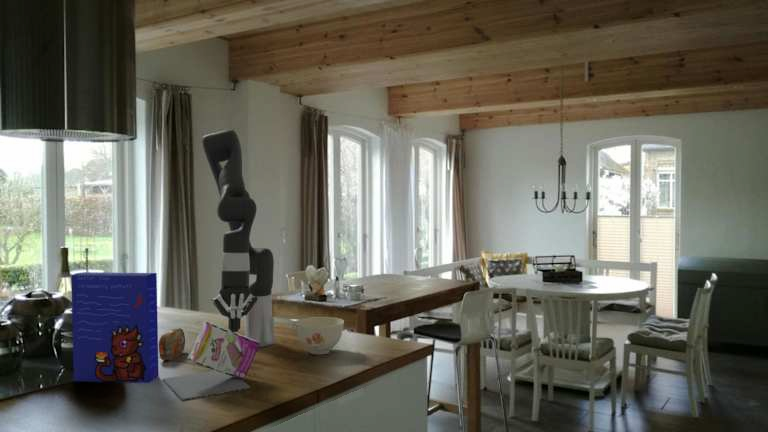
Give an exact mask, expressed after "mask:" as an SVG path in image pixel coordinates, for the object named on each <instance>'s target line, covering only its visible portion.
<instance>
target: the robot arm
mask: <svg viewBox="0 0 768 432" xmlns="http://www.w3.org/2000/svg"><path fill="white" fill-rule="evenodd" d="M238 136H239V135H238V134H237V132H236V131H235V130H234V129H226V130H220V131H217V132H213V133H209V134H206V135H204V136H203V137H202V139H201V140H202V148H203V151H204V154H205V157H206V160H207V162H208V164H209V168H210V170H211V173H212V175H213V178H214V182H215V183H216V186H217V192H218V194H219V201H218V204H217V213H216V214H217V217H218V218H219V220H220V221H222V222H224V223H228V226H229V229H230V231H226V232H225V233H224V234H223V242H222V246H223V247H222V258H221V278H220V279H221V284H220V285H221V287H220V291H219V294H218V295H217V296H215V297H213V298H212V299H211V302H212V303H213V305H214V306H215V308H216V309H217V310H218V312H219V313H220V314H221V316H223V317H226V318H228V330H230V331H231V332H235V333H238V332H239V330H240V329H241V318H242V317H244V318H243V319H244V320H243V321H244V336H245V337H248V338H250V339H253V340H255V341H256V342H258V343H260V345H259V348H261V347H262V348H263V347H267V346H270V345H275V317H274V315H273V313H272V309H273V308H272V306H273V305H272V288H273V286H274V285H273V284H274V267H275V266H274V264H275V261H274V254H273V252H272V251H271V249H269V248H265V247H253V246H252V245H251V241H250V237H251V233H252V232H251V231H252V227H253V224H254V221H255V218H256V214H257V210H258V209H257V203H256V202H255V200H254V199H252V198H251V196H250V194H249V192H248V191H247V190H246V185H245V182H244V176H243V160H242V159H243V158H242V157H243V156H242V153H243V152H242V147H241V142H240V139H239V137H238ZM226 161H227V162H226ZM223 162H226V163H225V165H224V166H222V164H221V163H223ZM250 275H253V276H255V281H254V282H253V283H251V284H250ZM223 302H224V303H225V304H226V308H225V306H224V305H223V304H222V303H223Z"/></svg>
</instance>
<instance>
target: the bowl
mask: <svg viewBox="0 0 768 432" xmlns="http://www.w3.org/2000/svg"><path fill="white" fill-rule="evenodd" d="M294 324H295V325H294V326H295V330H296V333H297V337H298V340H299V342H300V344H301V345H302V346H303V347H304V348H306V349H308V350H309V352H310V354H313V355H325V354H329V353H330V351H331V350H332V349H333V348H334V347H335V346H336V345H337V344H338V343H339V341H340V340H341V338H342V334H343V330H344V326H345V325H344V324H345V321H344V320H343V319H342V318H339V317H338V318H337V317H334V316H314V317H313V316H312V317H311V316H310V317H305V318H301V319H300V318H299V319H297V320H296V321H295V322H294Z"/></svg>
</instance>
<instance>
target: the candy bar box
mask: <svg viewBox="0 0 768 432" xmlns="http://www.w3.org/2000/svg"><path fill="white" fill-rule="evenodd" d="M195 339H196V340H195V342H194V344H193V345H192V347H191V350H190V351H189V354H188V356H187V359H188V360H190V361H191V362H192V363H195V364H197V365H200V366H202V367H206V368H208V369H211V370H212V371H214V370H216V371H219V372H222V373H225V374H227V375H230V376H233V377H236V378H239V379H241V380H242V381H244V380H245V379H246V376H247V375H248V372H249V370H250V367H251V365H252V363H253V361H254V359H255V356H256V353H257V352H258V350H259V348H260V347H259V345H260V343H258V342H256V341H255V340H253V339H250V338H248V337H245V335H242V334H239V333H238V332H231V331H230V330H229V329H227V328H225V327H223V326H220V325H217V324H215V323H212V322H210V321H207V320H205V321H204V322H203V325H202V327H201V329H200V331H199V333H198V334H197V337H196V338H195Z"/></svg>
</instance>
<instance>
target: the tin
mask: <svg viewBox="0 0 768 432" xmlns="http://www.w3.org/2000/svg"><path fill="white" fill-rule="evenodd" d="M185 346H186V336H185V331H184V330H183V329H182V328H173V329H170V330H168V331H167V332H166V333H164V334H162V335H161V336H160V338H159V339H158V354H159V358H160V360H162V361H173V360H174V359H176V358H178V357H179V356H181V355H182V354H183V352H184V350H185Z"/></svg>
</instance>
